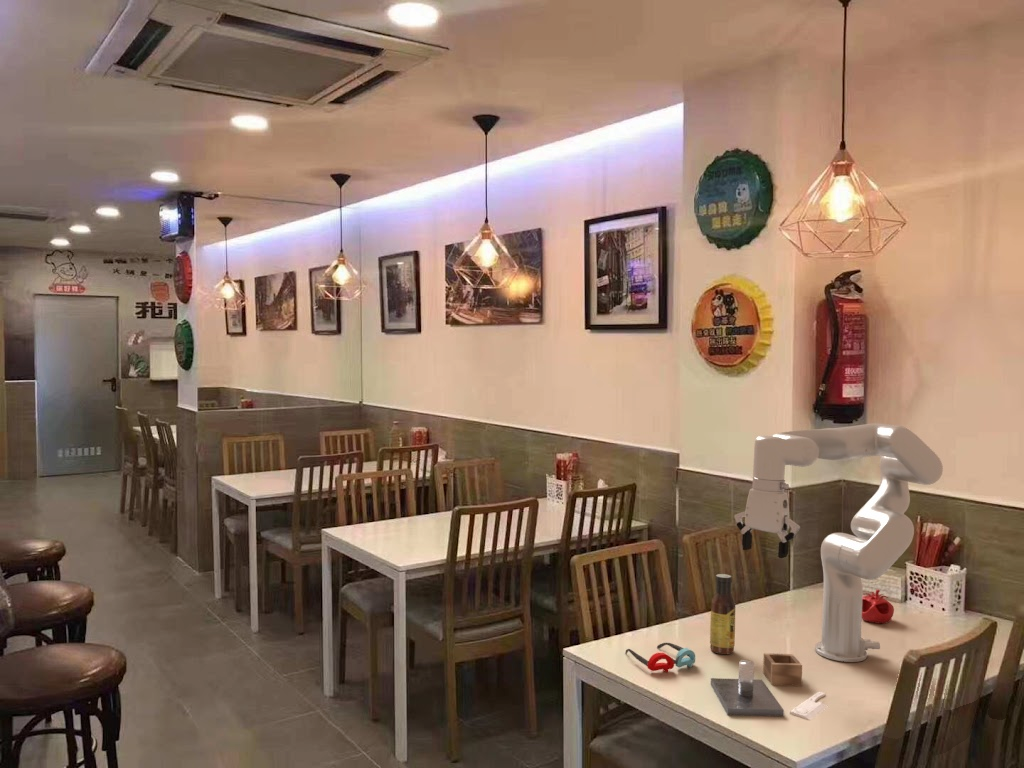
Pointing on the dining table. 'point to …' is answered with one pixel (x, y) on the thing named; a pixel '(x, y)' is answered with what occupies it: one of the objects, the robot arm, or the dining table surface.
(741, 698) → the post stand
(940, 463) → the robot arm
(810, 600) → the dining table surface
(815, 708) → the butcher knife
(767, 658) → the wooden box
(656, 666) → the novelty glasses
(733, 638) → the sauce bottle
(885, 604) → the red tomato container
